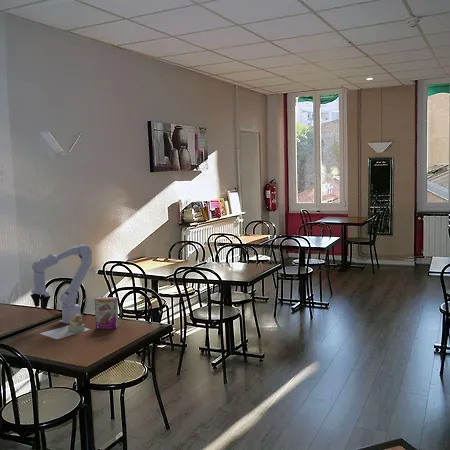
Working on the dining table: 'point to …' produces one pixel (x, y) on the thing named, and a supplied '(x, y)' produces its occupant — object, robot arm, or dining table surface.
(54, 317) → the dining table surface
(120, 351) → the dining table surface
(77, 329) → the sage base block
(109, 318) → the candy bar box
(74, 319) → the maple block
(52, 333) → the mat
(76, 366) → the dining table surface
